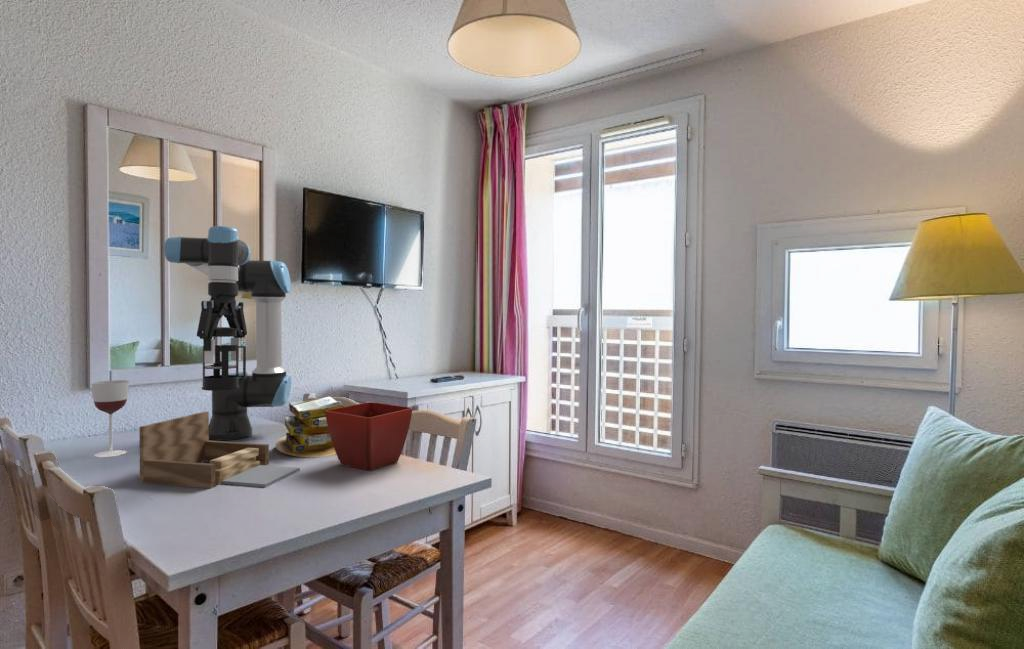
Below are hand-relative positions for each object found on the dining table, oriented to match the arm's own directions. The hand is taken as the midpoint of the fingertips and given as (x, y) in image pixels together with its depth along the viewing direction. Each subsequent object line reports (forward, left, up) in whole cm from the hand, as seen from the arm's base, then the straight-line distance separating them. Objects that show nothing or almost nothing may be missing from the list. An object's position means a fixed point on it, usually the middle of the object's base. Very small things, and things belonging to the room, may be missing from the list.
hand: (223, 361), depth 158 cm
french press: (0, 0, -8) cm, 8 cm away
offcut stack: (0, +3, -32) cm, 33 cm away
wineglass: (-11, -50, -32) cm, 61 cm away
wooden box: (0, -5, -32) cm, 32 cm away
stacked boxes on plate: (-34, +9, -32) cm, 48 cm away
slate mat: (0, +12, -32) cm, 34 cm away
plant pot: (-20, +35, -32) cm, 52 cm away
